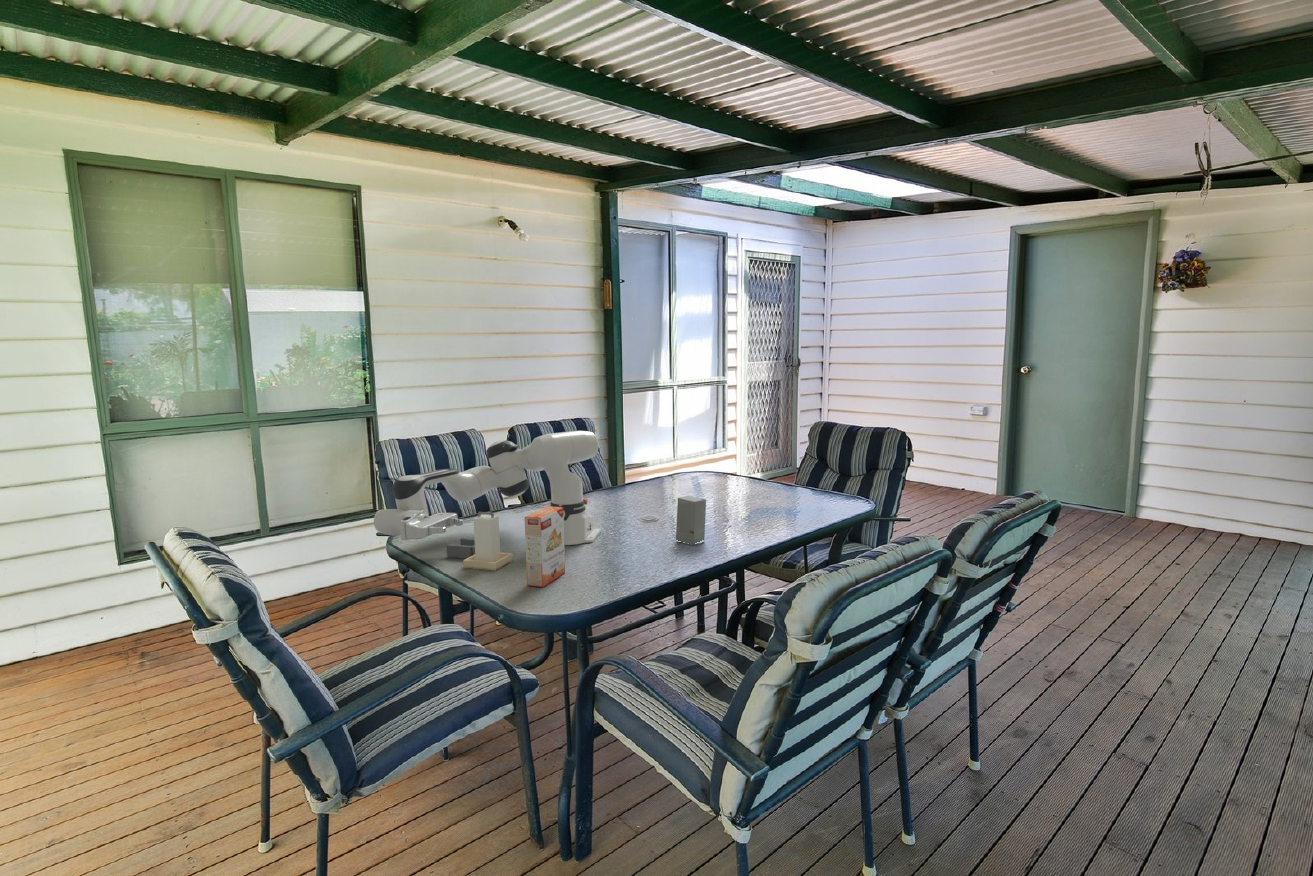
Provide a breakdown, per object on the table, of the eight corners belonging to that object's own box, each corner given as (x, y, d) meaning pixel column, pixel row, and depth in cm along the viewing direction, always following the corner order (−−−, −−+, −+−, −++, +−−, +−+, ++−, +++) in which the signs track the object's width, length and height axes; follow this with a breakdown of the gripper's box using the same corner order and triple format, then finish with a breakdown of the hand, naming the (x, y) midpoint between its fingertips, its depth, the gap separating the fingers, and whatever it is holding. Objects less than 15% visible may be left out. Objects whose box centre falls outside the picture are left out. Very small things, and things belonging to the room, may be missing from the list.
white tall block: (484, 559, 230) (481, 509, 228) (500, 561, 229) (498, 511, 226) (475, 564, 226) (473, 513, 224) (492, 565, 224) (489, 514, 222)
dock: (462, 549, 245) (462, 538, 244) (488, 551, 241) (487, 540, 241) (447, 556, 236) (446, 545, 236) (473, 559, 233) (473, 547, 232)
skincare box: (675, 542, 248) (674, 497, 246) (688, 537, 253) (688, 494, 251) (694, 546, 242) (693, 501, 240) (707, 541, 248) (706, 497, 245)
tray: (482, 558, 234) (481, 550, 234) (513, 560, 230) (512, 553, 230) (463, 568, 224) (463, 560, 224) (495, 571, 220) (495, 563, 220)
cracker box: (544, 588, 204) (541, 517, 201) (526, 586, 206) (522, 516, 203) (566, 573, 217) (564, 506, 214) (549, 571, 219) (546, 505, 216)
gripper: (437, 525, 244) (471, 527, 240) (398, 541, 225) (434, 544, 220) (436, 507, 243) (470, 509, 239) (396, 522, 224) (433, 525, 220)
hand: (453, 526), depth 229 cm, fingers open, 8 cm apart
